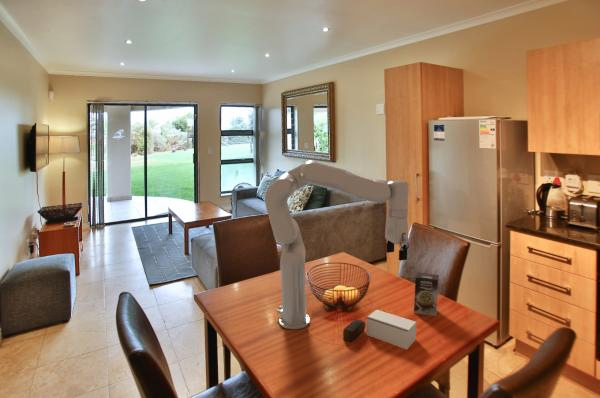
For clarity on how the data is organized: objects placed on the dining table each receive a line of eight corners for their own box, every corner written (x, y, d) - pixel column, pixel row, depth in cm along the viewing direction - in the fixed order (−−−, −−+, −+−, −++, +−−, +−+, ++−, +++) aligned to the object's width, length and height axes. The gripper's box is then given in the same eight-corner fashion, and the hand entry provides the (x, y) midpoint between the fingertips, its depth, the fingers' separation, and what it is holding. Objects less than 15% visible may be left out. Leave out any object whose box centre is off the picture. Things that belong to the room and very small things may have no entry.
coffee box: (413, 313, 153) (414, 277, 150) (414, 306, 158) (416, 271, 156) (436, 317, 149) (438, 280, 146) (437, 310, 155) (438, 274, 152)
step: (366, 334, 137) (366, 316, 136) (376, 326, 143) (376, 308, 142) (406, 349, 127) (407, 330, 126) (415, 339, 133) (416, 321, 132)
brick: (352, 343, 132) (352, 332, 131) (342, 340, 134) (342, 328, 133) (365, 331, 140) (365, 319, 139) (356, 328, 142) (356, 317, 142)
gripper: (378, 209, 145) (377, 250, 148) (400, 218, 129) (398, 264, 132) (395, 208, 147) (394, 248, 150) (419, 216, 131) (417, 262, 134)
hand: (396, 255), depth 141 cm, fingers open, 9 cm apart
